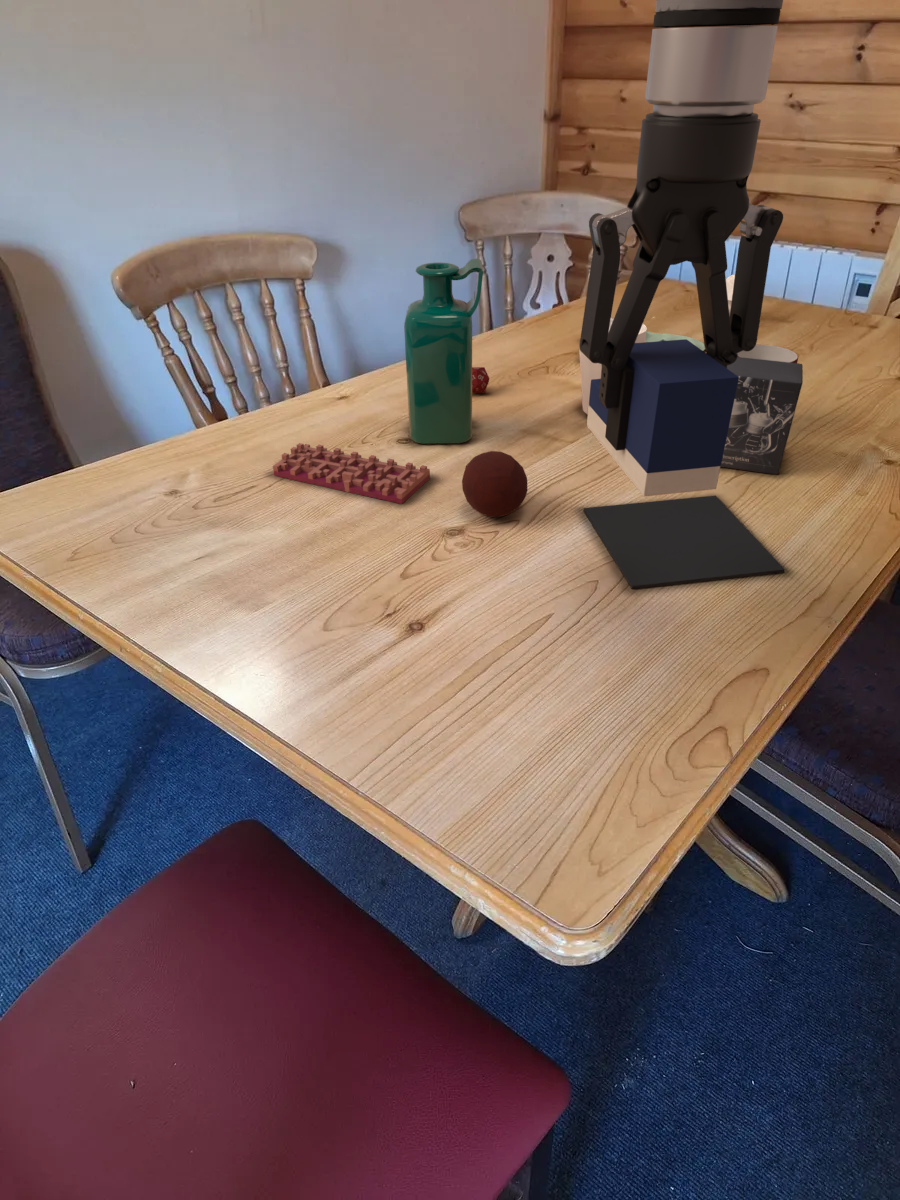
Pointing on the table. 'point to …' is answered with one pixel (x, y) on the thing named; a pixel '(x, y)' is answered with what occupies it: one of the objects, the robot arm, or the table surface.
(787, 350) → the mug
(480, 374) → the dice
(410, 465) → the chocolate bar
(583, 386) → the cup
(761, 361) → the small box
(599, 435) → the navy block
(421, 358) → the pitcher
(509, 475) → the dark red ball
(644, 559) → the mat
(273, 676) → the table surface
